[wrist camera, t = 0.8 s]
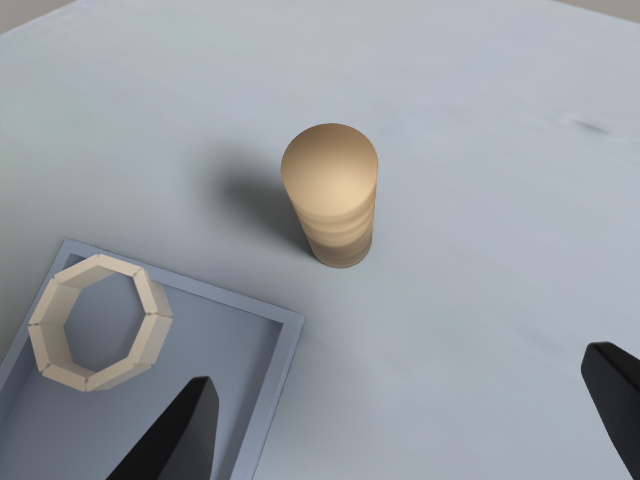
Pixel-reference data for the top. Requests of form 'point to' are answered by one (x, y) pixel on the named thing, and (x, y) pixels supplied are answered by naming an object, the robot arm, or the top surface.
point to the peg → (333, 191)
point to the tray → (135, 366)
